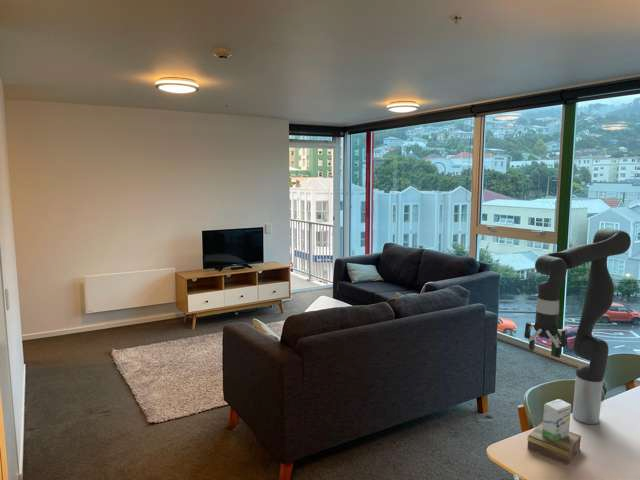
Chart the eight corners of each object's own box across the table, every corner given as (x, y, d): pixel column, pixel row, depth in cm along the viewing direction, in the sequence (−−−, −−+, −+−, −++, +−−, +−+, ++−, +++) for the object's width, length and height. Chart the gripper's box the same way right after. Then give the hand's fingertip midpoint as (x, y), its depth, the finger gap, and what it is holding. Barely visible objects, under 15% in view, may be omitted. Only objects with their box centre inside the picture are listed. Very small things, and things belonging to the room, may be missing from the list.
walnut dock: (541, 434, 174) (542, 421, 173) (579, 448, 164) (580, 435, 164) (526, 449, 164) (527, 435, 163) (566, 465, 155) (567, 451, 154)
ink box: (554, 442, 159) (557, 409, 158) (541, 435, 164) (543, 403, 162) (569, 435, 164) (572, 404, 162) (556, 429, 168) (558, 398, 166)
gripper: (572, 312, 168) (568, 356, 170) (531, 304, 178) (528, 345, 180) (564, 317, 163) (561, 361, 165) (523, 308, 173) (520, 350, 175)
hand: (544, 353), depth 173 cm, fingers open, 8 cm apart
